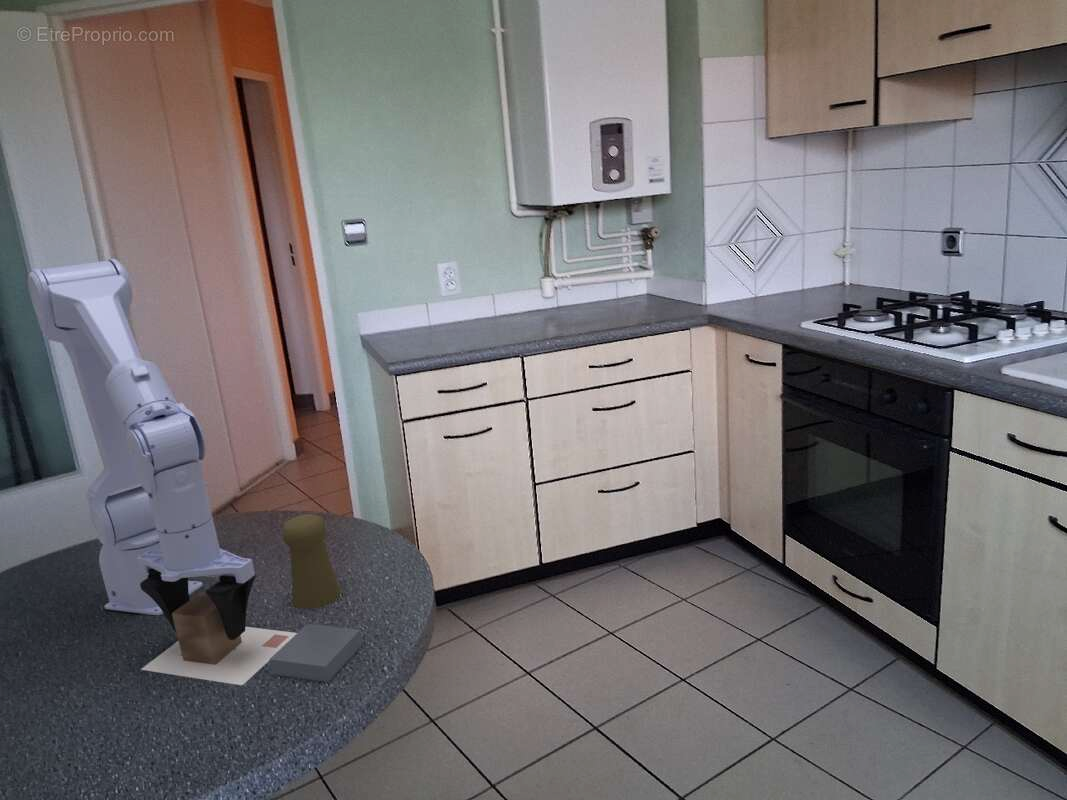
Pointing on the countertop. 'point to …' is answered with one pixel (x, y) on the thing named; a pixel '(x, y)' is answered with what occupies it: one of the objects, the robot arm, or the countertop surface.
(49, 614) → the countertop surface
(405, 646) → the countertop surface
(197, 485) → the robot arm
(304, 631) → the metal block
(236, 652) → the letter
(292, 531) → the cork
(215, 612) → the walnut block
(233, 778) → the countertop surface
